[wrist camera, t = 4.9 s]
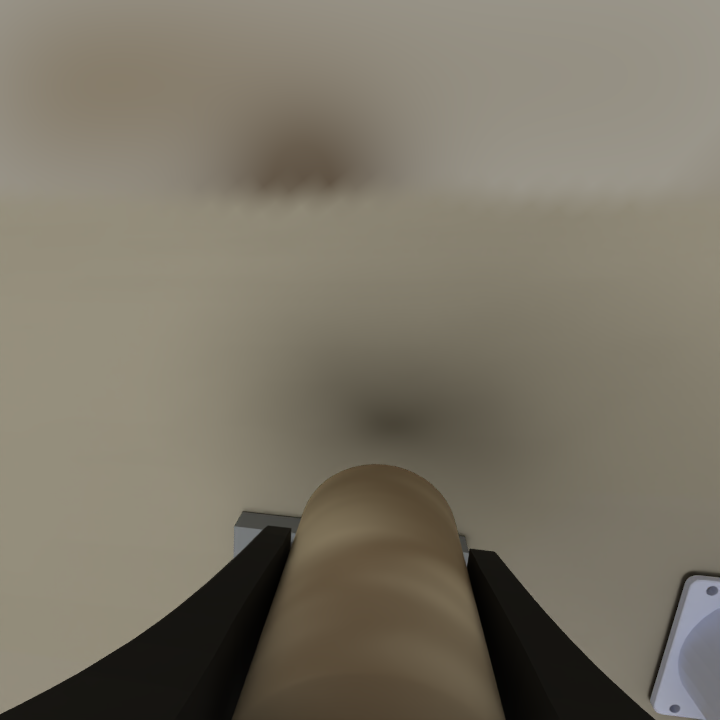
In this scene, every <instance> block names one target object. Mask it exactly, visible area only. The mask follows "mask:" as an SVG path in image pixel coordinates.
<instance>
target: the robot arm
mask: <svg viewBox="0 0 720 720" xmlns="http://www.w3.org/2000/svg"><path fill="white" fill-rule="evenodd" d="M291 529H292V528H286V527H278V526H269V525H268V526H266V527H265V528H264V529H263V530H262V531H261V532H260V533H259V534H258V535H257V536H256V537H255V538H254V539H253V540H252V541H251V542H250V543H249V544H248V545H247V546H246V547H245V548H244V549H243V550H242V551H241V552H240V553H239V554H238V555H237V556H236V557H235V558H234V559H233V560H231V561H230V562H229V563H228V564H227V565H226V566H225V567H224V568H223V569H222V570H221V571H219V572H218V573H217V574H216V575H215V576H214V577H213V578H212V579H211V580H210V581H208V582H207V583H206V584H205V585H204V586H203V587H201V588H200V589H199V590H198V591H197V592H195V593H194V594H193V595H192V596H191V597H189V598H188V599H187V600H186V601H184V602H183V603H182V604H181V605H180V606H178V607H177V608H176V609H175V610H173V611H172V612H171V613H169V614H168V615H167V616H165V617H164V618H163V619H161V620H160V621H159V622H157V623H156V624H155V625H153V626H152V627H150V628H149V629H147V630H146V631H145V632H143V633H142V634H140V635H139V636H138V637H136V638H135V639H133V640H132V641H130V642H128V643H127V644H125V645H124V646H122V647H120V648H119V649H117V650H116V651H114V652H112V653H111V654H109V655H107V656H106V657H104V658H103V659H101V660H99V661H98V662H96V663H94V664H93V665H91V666H90V667H88V668H86V669H85V670H83V671H81V672H80V673H78V674H76V675H74V676H72V677H71V678H69V679H67V680H65V681H63V682H62V683H60V684H58V685H56V686H54V687H53V688H51V689H49V690H47V691H45V692H43V693H41V694H39V695H37V696H35V697H33V698H32V699H30V700H28V701H26V702H24V703H22V704H20V705H18V706H16V707H14V708H12V709H10V710H8V711H6V712H4V713H2V714H0V720H232V717H233V714H234V711H235V708H236V706H237V703H238V700H239V697H240V694H241V691H242V688H243V685H244V682H245V679H246V677H247V674H248V671H249V668H250V665H251V662H252V659H253V656H254V653H255V650H256V648H257V645H258V642H259V639H260V636H261V633H262V630H263V627H264V624H265V622H266V619H267V616H268V613H269V610H270V607H271V604H272V601H273V598H274V595H275V593H276V590H277V587H278V584H279V581H280V578H281V575H282V572H283V569H284V567H285V564H286V561H287V558H288V555H289V552H290V549H291ZM467 570H468V574H469V578H470V582H471V586H472V590H473V594H474V598H475V602H476V605H477V609H478V613H479V617H480V621H481V625H482V629H483V633H484V637H485V641H486V645H487V648H488V652H489V656H490V660H491V664H492V668H493V672H494V676H495V680H496V684H497V688H498V691H499V695H500V699H501V703H502V707H503V711H504V715H505V719H506V720H655V719H654V718H653V717H652V716H650V715H649V714H648V713H647V712H646V711H645V710H643V709H642V708H641V707H640V706H639V705H638V704H637V703H636V702H634V701H633V700H632V699H631V698H630V697H629V696H628V695H627V694H626V693H625V692H624V691H622V690H621V689H620V688H619V687H618V686H617V685H616V684H615V683H614V682H613V681H612V680H610V679H609V678H608V677H607V676H606V675H605V674H604V673H603V672H602V671H601V670H600V669H599V668H598V667H597V666H596V665H595V664H594V663H593V662H592V661H591V660H590V659H589V658H588V657H587V656H586V655H585V654H584V653H583V652H582V651H581V650H580V649H579V648H578V647H577V646H576V645H575V644H574V643H573V642H572V641H571V640H570V639H569V638H568V637H567V635H566V634H565V633H564V632H563V631H562V630H561V629H560V628H559V627H558V626H557V625H556V623H555V622H554V621H553V620H552V619H551V618H550V617H549V616H548V615H547V613H546V612H545V611H544V610H543V609H542V608H541V607H540V605H539V604H538V603H537V602H536V601H535V600H534V598H533V597H532V596H531V595H530V594H529V593H528V591H527V590H526V589H525V588H524V587H523V585H522V584H521V583H520V582H519V581H518V579H517V578H516V577H515V576H514V574H513V573H512V572H511V571H510V570H509V568H508V567H507V566H506V565H505V563H504V562H503V561H502V560H501V559H500V557H499V556H498V555H497V554H496V553H495V552H493V551H485V550H476V549H470V550H469V556H468V562H467ZM710 586H711V587H710ZM709 587H710V588H709ZM707 588H709V589H707ZM650 703H651V705H652V706H653V708H654V710H655V711H656V712H657V713H660V714H664V715H672V716H679V717H687V718H695V719H703V720H720V577H711V576H702V575H694V576H691V577H689V578H688V579H687V580H686V582H685V585H684V588H683V591H682V595H681V598H680V601H679V605H678V608H677V611H676V615H675V618H674V622H673V625H672V628H671V632H670V635H669V638H668V642H667V645H666V648H665V652H664V655H663V658H662V662H661V665H660V668H659V672H658V675H657V678H656V682H655V685H654V688H653V692H652V695H651V698H650Z"/></svg>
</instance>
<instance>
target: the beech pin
mask: <svg viewBox="0 0 720 720" xmlns="http://www.w3.org/2000/svg"><path fill="white" fill-rule="evenodd" d="M232 720H506V719H505V715H504V711H503V707H502V703H501V699H500V695H499V691H498V688H497V684H496V680H495V676H494V672H493V668H492V664H491V660H490V656H489V652H488V648H487V645H486V641H485V637H484V633H483V629H482V625H481V621H480V617H479V613H478V609H477V605H476V602H475V598H474V594H473V590H472V586H471V582H470V578H469V574H468V570H467V566H466V562H465V559H464V555H463V551H462V547H461V543H460V539H459V535H458V531H457V527H456V523H455V519H454V516H453V514H452V511H451V509H450V507H449V505H448V503H447V501H446V500H445V499H444V497H443V496H442V495H441V493H440V492H439V491H438V490H437V489H436V488H435V487H434V486H433V485H432V484H430V483H429V482H428V481H427V480H425V479H424V478H422V477H420V476H419V475H417V474H415V473H413V472H410V471H408V470H406V469H402V468H399V467H396V466H390V465H380V464H371V465H361V466H356V467H352V468H349V469H346V470H343V471H341V472H339V473H337V474H335V475H333V476H332V477H330V478H329V479H327V480H326V481H325V482H324V483H323V484H321V485H320V486H319V487H318V488H317V490H316V491H315V492H314V493H313V494H312V496H311V497H310V499H309V500H308V502H307V504H306V507H305V509H304V512H303V514H302V517H301V520H300V523H299V526H298V529H297V532H296V535H295V538H294V540H293V543H292V546H291V549H290V552H289V555H288V558H287V561H286V564H285V567H284V569H283V572H282V575H281V578H280V581H279V584H278V587H277V590H276V593H275V595H274V598H273V601H272V604H271V607H270V610H269V613H268V616H267V619H266V622H265V624H264V627H263V630H262V633H261V636H260V639H259V642H258V645H257V648H256V650H255V653H254V656H253V659H252V662H251V665H250V668H249V671H248V674H247V677H246V679H245V682H244V685H243V688H242V691H241V694H240V697H239V700H238V703H237V706H236V708H235V711H234V714H233V717H232Z"/></svg>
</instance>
